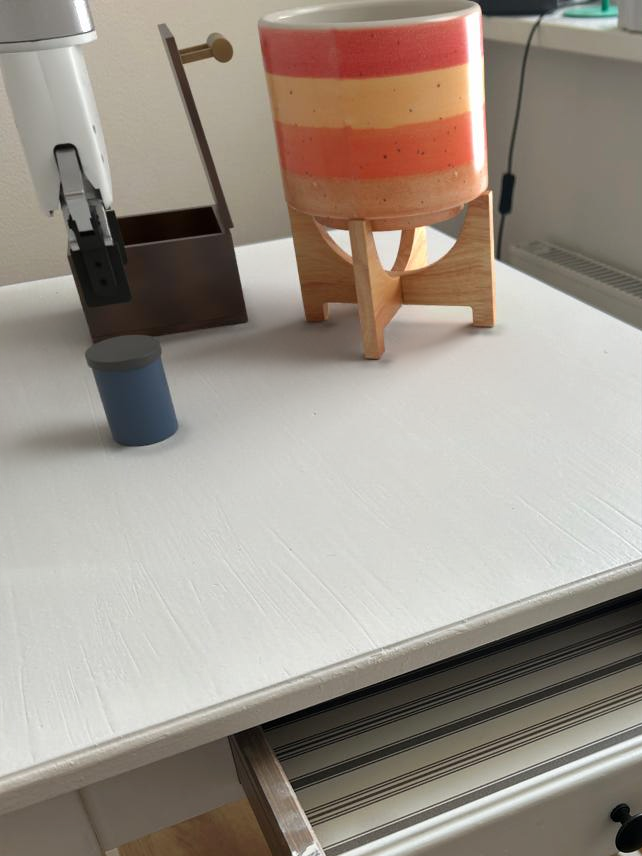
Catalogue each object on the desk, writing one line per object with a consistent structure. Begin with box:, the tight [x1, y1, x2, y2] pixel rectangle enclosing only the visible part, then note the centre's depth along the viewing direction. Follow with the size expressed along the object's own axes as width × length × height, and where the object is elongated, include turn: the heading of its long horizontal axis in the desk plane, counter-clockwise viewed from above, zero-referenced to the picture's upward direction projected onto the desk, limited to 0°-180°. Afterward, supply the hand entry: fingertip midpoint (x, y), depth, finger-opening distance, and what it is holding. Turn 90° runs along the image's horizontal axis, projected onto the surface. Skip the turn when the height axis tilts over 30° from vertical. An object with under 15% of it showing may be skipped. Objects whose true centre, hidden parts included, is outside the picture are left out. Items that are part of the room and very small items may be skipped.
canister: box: [84, 335, 179, 447], centre depth 80 cm, size 6×6×7 cm
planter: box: [257, 0, 497, 360], centre depth 91 cm, size 20×20×27 cm
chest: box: [66, 203, 249, 345], centre depth 102 cm, size 16×13×9 cm
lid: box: [157, 22, 235, 230], centre depth 96 cm, size 16×13×6 cm
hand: (109, 283), depth 74 cm, fingers open, 9 cm apart
